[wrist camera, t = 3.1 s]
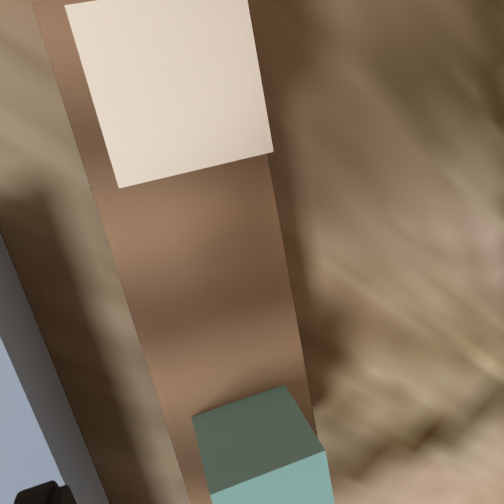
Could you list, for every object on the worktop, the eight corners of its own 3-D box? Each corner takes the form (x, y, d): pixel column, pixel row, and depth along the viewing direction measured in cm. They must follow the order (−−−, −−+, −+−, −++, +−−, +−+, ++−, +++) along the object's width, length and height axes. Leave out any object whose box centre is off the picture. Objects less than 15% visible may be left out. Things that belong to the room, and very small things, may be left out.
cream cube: (79, 34, 13) (64, 4, 10) (210, 12, 14) (243, -23, 10) (118, 169, 15) (119, 188, 11) (236, 142, 15) (274, 151, 12)
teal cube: (191, 416, 18) (210, 495, 14) (284, 384, 19) (325, 450, 15) (213, 491, 19) (235, 580, 16) (299, 458, 20) (340, 535, 16)
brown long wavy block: (48, 24, 16) (31, 2, 13) (212, -2, 17) (234, -29, 14) (184, 460, 23) (195, 517, 20) (295, 419, 24) (322, 467, 21)
